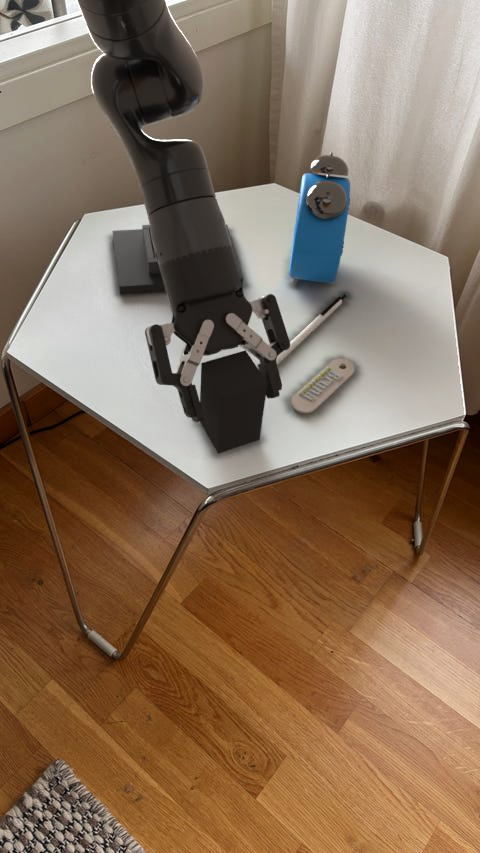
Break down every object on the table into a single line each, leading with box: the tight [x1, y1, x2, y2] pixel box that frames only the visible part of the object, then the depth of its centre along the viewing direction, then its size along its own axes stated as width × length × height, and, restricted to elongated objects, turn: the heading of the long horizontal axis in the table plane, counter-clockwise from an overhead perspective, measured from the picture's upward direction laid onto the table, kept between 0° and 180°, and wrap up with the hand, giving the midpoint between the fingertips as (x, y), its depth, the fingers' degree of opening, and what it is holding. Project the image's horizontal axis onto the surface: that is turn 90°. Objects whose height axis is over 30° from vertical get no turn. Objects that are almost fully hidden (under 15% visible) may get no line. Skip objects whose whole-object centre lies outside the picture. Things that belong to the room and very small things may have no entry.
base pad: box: [112, 224, 244, 295], centre depth 94 cm, size 16×12×3 cm
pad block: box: [199, 349, 267, 454], centre depth 74 cm, size 5×5×9 cm
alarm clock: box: [288, 152, 351, 286], centre depth 90 cm, size 13×6×15 cm, turn 173°
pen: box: [276, 293, 347, 366], centre depth 88 cm, size 1×19×1 cm, turn 143°
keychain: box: [290, 357, 355, 414], centre depth 82 cm, size 10×1×3 cm
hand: (236, 408), depth 73 cm, fingers open, 8 cm apart
